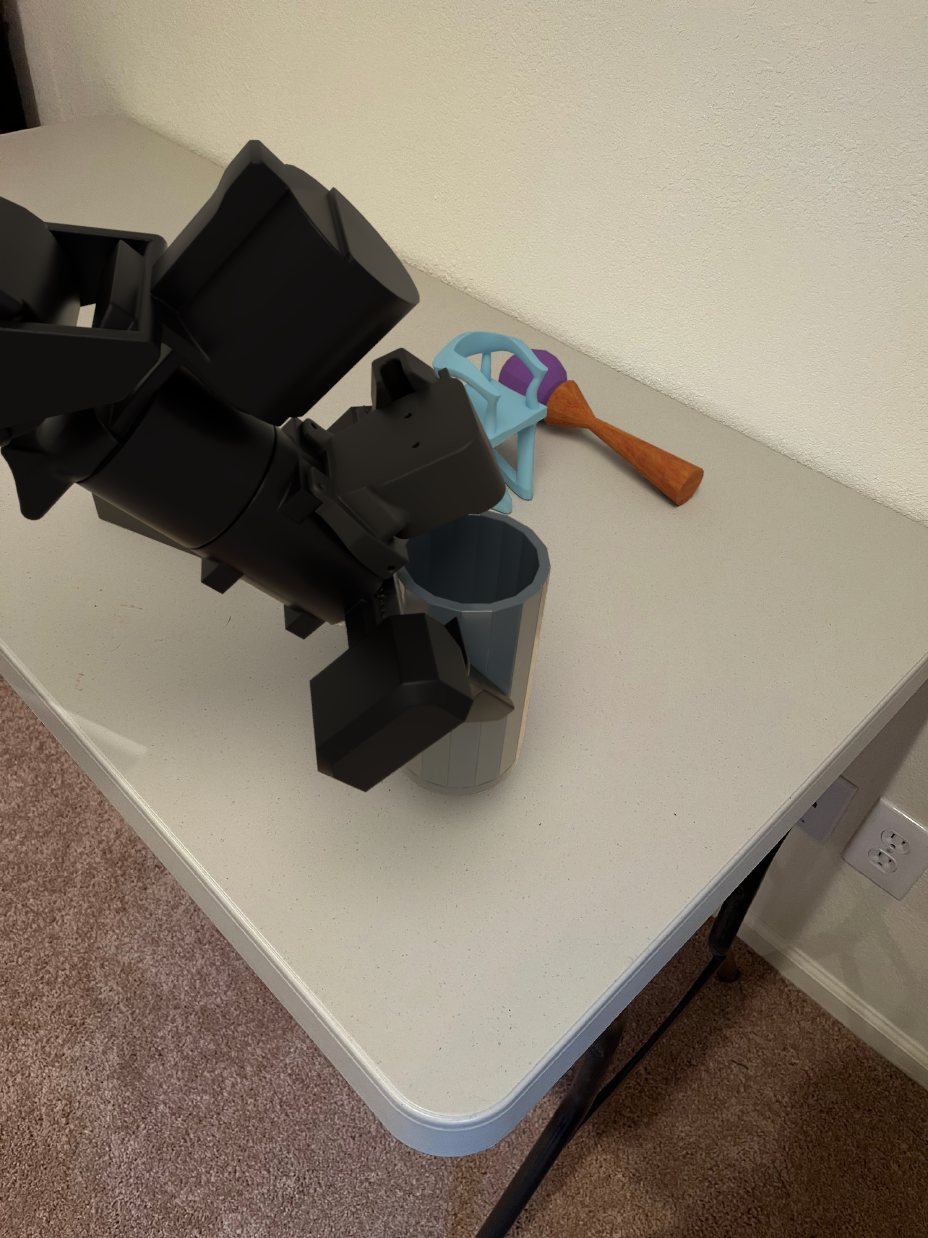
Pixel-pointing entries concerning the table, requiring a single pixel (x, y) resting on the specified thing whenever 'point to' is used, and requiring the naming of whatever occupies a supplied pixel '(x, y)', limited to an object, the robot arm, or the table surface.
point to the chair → (499, 401)
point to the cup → (480, 636)
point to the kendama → (601, 426)
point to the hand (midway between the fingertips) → (490, 655)
